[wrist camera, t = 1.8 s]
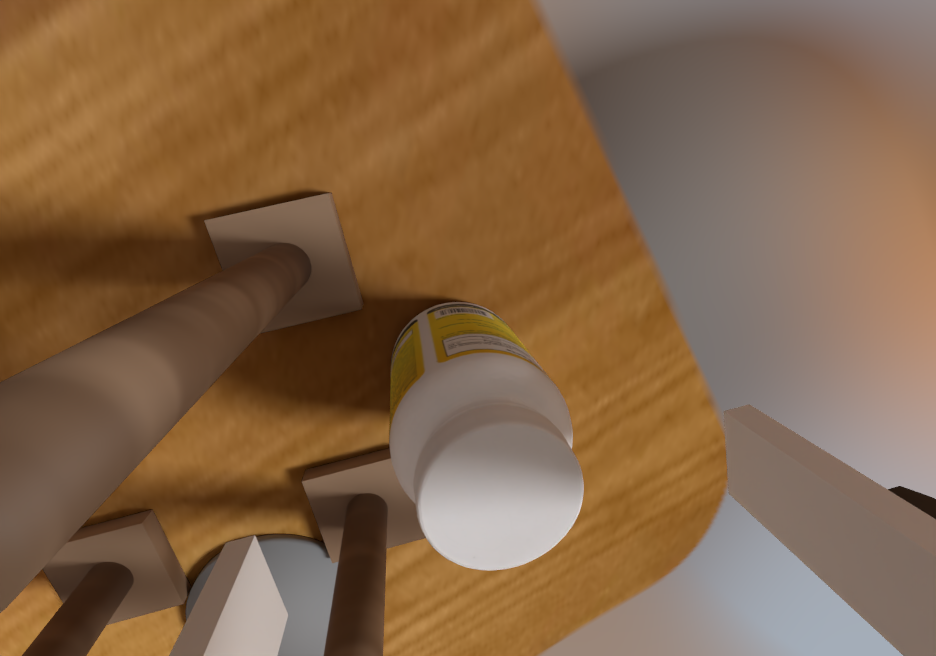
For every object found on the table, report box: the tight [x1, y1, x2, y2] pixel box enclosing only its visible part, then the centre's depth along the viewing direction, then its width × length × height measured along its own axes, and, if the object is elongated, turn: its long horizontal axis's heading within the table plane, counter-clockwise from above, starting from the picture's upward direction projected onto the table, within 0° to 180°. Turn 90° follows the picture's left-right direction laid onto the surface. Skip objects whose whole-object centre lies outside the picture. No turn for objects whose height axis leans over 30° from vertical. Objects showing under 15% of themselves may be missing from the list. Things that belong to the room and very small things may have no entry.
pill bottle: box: [389, 302, 584, 570], centre depth 18 cm, size 6×6×11 cm
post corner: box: [302, 448, 426, 656], centre depth 17 cm, size 5×5×18 cm
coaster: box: [186, 534, 338, 656], centre depth 26 cm, size 9×9×1 cm
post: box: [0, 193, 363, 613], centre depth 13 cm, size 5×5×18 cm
